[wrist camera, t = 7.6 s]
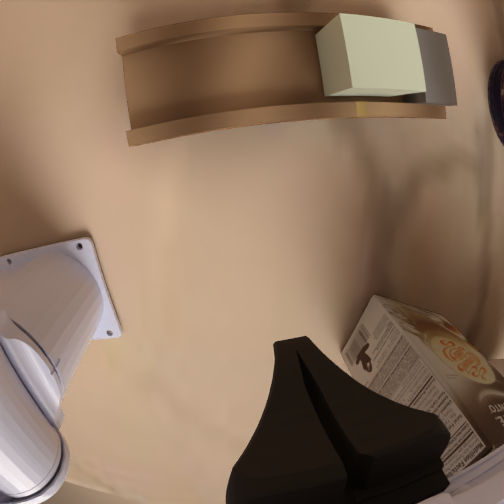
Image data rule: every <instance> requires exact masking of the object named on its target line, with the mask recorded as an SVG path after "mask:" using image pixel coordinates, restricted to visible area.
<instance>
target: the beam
mask: <svg viewBox="0 0 504 504" xmlns="http://www.w3.org/2000/svg"><path fill="white" fill-rule="evenodd" d="M337 15H338V14H333V13H307V12H283V13H258V14H244V15H233V16H224V17H216V18H208V19H201V20H195V21H189V22H183V23H178V24H173V25H168V26H163V27H159V28H154V29H150V30H146V31H142V32H138V33H134V34H130V35H127V36H123V37H120V38H116V47H117V52H118V53H119V54H120V55H122V58H123V68H124V78H125V87H126V95H127V103H128V110H129V117H130V124H131V130H130V131H126V132H127V139H128V145H129V147H130V146H138V145H142V144H147V143H151V142H156V141H161V140H166V139H171V138H176V137H181V136H186V135H192V134H197V133H203V132H209V131H215V130H222V129H229V128H236V127H243V126H251V125H260V124H269V123H278V122H289V121H301V120H315V119H333V118H364V117H399V118H434V119H446V111H445V106H453V105H457V99H456V91H455V83H454V76H453V70H452V64H451V58H450V53H449V48H448V43H447V38H446V35H445V34H442V33H437V32H433V30H432V28H430V27H425V26H421V25H416V24H414V25H415V29H416V34H417V38H418V43H419V48H420V54H421V59H422V65H423V71H424V78H425V85H426V92H419V93H411V94H404V95H397V96H391V97H382V96H327V97H325V95H324V87H323V80H322V74H321V67H320V61H319V55H318V49H317V43H316V37H315V35H316V34H317V33H318V32H319V31H320V30H322V29H323V28H324V27H325V26H326V25H327V24H328V23H329V22H330V21H331V20H332V19H333V18H335V17H336V16H337Z"/></svg>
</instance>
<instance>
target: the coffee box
mask: <svg viewBox="0 0 504 504" xmlns="http://www.w3.org/2000/svg"><path fill="white" fill-rule="evenodd" d="M341 355H342V357H343V359H344V361H345V363H346V365H347V367H348V369H349V371H350V373H351V375H352V377H353V379H355V380H356V381H358V382H359V383H361V384H362V385H364V386H366V387H367V388H369V389H370V390H372V391H374V392H376V393H378V394H380V395H382V396H384V397H386V398H388V399H391V400H393V401H395V402H397V403H400V404H403V405H406V406H408V407H411V408H414V409H418V410H422V411H426V412H430V413H434V414H436V415H437V416H438V417H439V418H440V420H441V421H442V422H443V423H444V425H445V426H446V427H447V429H448V430H449V432H450V434H451V438H450V441H449V444H448V446H447V447H446V449H445V451H444V453H443V454H442V456H441V460H442V462H443V463H444V467H443V468H442V470H443V472H444V473H445V475H446V477H447V478H449V477H451V476H453V475H455V474H457V473H458V472H460V471H462V470H464V469H465V468H467V467H469V466H471V465H472V464H474V463H476V462H477V461H479V460H481V459H482V458H484V457H485V456H487V455H488V454H490V453H491V452H493V451H495V450H496V449H497V448H499V447H500V446H502V445H503V444H504V377H503V376H502V375H501V374H500V373H499V372H498V371H497V370H496V369H495V367H494V366H493V365H492V364H491V363H490V362H489V361H488V360H487V359H486V358H485V357H484V356H483V355H482V354H481V353H480V352H479V351H478V350H477V349H476V348H475V347H474V346H473V345H472V344H471V343H470V342H469V341H468V340H467V339H466V338H465V337H464V336H463V335H462V334H461V333H460V332H459V331H458V330H457V329H456V328H455V327H454V326H453V325H452V324H451V323H450V322H448V321H447V320H446V319H445V318H444V317H443V316H442V315H439V314H436V313H433V312H430V311H426V310H423V309H420V308H416V307H413V306H410V305H407V304H403V303H400V302H397V301H394V300H391V299H387V298H384V297H381V296H378V295H373V296H372V297H371V299H370V301H369V303H368V305H367V307H366V309H365V311H364V313H363V314H362V316H361V318H360V320H359V322H358V324H357V326H356V327H355V329H354V331H353V333H352V335H351V337H350V338H349V340H348V342H347V344H346V345H345V347H344V349H343V351H342V352H341Z"/></svg>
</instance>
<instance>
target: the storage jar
mask: <svg viewBox="0 0 504 504" xmlns="http://www.w3.org/2000/svg"><path fill="white" fill-rule="evenodd" d="M488 99H489V108H490V113H491V118H492V121H493V125H494V128H495V131H496V133H497V135H498V137H499V139H500V141H501V143H502V144H503V146H504V60H500V61H499V62H497V63H496V64H495V65H494V67H493V69H492V71H491V74H490V78H489V85H488Z"/></svg>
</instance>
